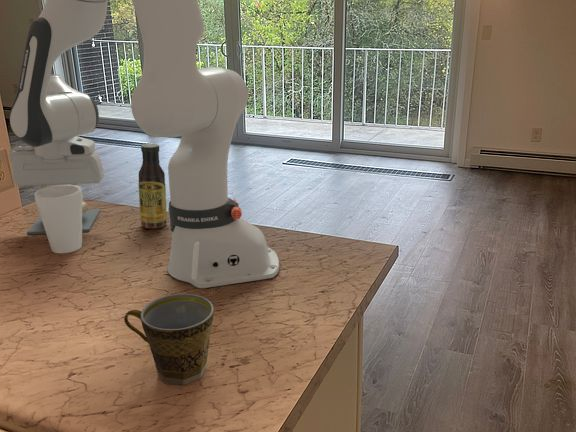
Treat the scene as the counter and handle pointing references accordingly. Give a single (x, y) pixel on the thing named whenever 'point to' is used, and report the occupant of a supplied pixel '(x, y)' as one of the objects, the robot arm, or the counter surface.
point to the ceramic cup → (177, 335)
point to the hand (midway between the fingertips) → (62, 201)
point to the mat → (87, 222)
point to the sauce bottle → (152, 189)
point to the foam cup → (61, 216)
